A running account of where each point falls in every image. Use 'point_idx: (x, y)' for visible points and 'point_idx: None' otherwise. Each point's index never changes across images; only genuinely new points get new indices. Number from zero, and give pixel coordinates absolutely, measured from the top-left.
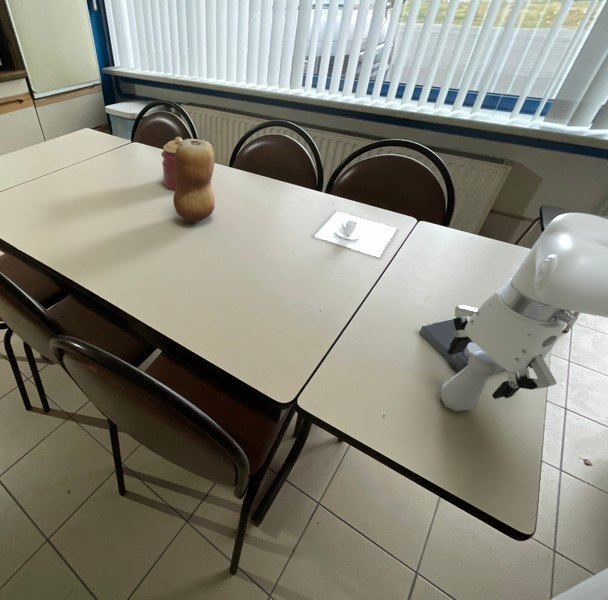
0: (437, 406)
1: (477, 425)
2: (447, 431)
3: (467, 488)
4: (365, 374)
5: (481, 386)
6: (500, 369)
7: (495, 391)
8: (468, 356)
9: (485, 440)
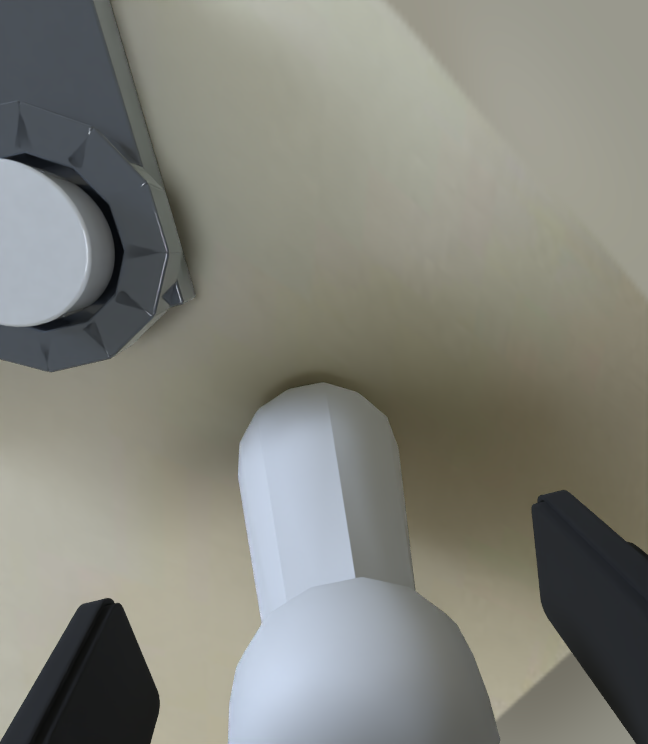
0: None
1: (434, 394)
2: (441, 522)
3: None
4: (159, 710)
5: (406, 534)
6: (117, 49)
7: (578, 656)
8: (63, 317)
9: (500, 401)
